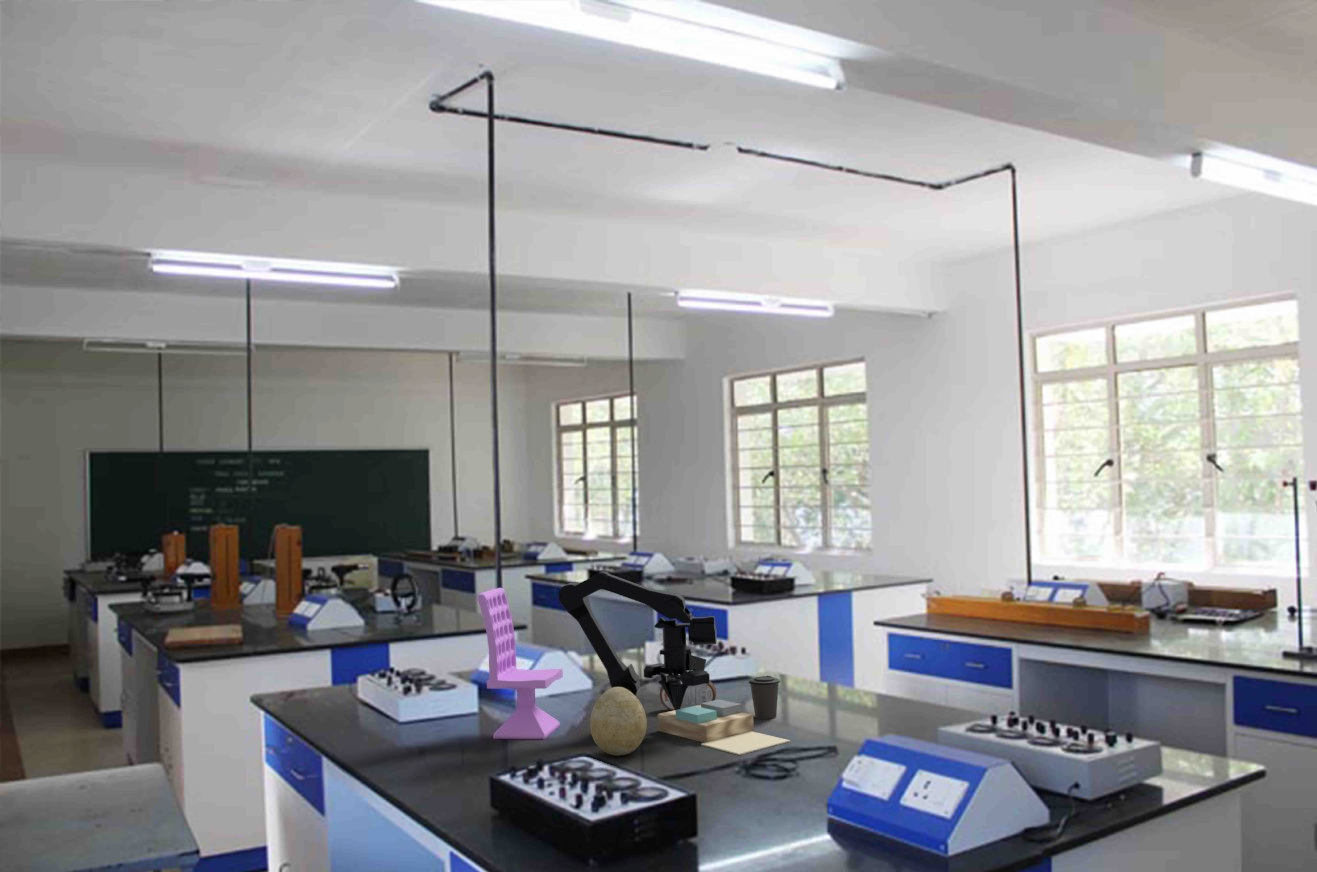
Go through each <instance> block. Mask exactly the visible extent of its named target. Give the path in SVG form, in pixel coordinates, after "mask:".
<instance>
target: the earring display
mask: <svg viewBox="0 0 1317 872" xmlns="http://www.w3.org/2000/svg"><path fill="white" fill-rule="evenodd" d="M476 598H477V601H478V605H479V608H480V611H481V615H482V617H483V623H484V627H485V631H486V632H485V633H486V638H487V639H486V640H487V645H488V646H487V647H488V669H489V676H488V679H486V689H491V690H492V689H494V690H495V689H496V690H497V689H507V690H508V689H509V690H516V707H517V708H516V710H515V711H514V712H513V713H512V714H511V715H510V716H509V717H508V718H507V719H506V720H505V721H504V722H503V723H502V724H501V725H500V727H498V728H497V730H496V731H494V733H493V734H492V735H493V739H494V740H497V739H499V740H500V739H502V740H509V739H510V740H512V739H513V740H524V739H525V740H545V739H547V738H548V737H549V736H550V735H551V734H552V733H554V732H555V731H556V730H557V729H558V728H560V727H559V726H561V725H560V724H561V723H560V721H559V720H557V718H554V717H553V716H552V715H550V714H548V713H547V712H546V711H544V710H543V709H541V708H539V707H538V706H537V705H536V689H537V690H538V689H539V690H540V689H543V690H544V689H547V688H549V687H550V686H551V685H552V684H553V683H554V682H555V681H557V680H561V679H562V678H563V668H549V669H522V668H521V669H520V668H518V669H517V650H516V637H515V636H516V635H515V629H514V624H513V617H512V614H511V609H510V606H509V602H508V597H507V594H506V591H505V589H504V588H503V587H496V588H494V589H489V590H486V591H483V592H481V593H478V594H477V597H476Z"/></svg>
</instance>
